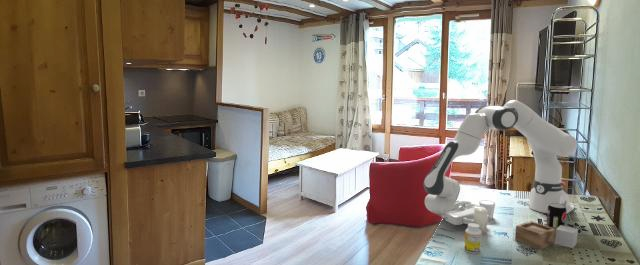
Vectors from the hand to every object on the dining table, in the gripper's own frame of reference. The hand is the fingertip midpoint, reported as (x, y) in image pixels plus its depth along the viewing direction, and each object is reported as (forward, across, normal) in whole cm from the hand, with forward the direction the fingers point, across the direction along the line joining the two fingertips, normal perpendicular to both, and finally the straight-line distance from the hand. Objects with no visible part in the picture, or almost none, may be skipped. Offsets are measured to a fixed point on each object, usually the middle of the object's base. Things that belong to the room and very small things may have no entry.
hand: (482, 220), depth 161 cm
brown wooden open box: (+16, +11, +6) cm, 20 cm away
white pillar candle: (-1, 0, +6) cm, 6 cm away
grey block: (+23, +20, +6) cm, 31 cm away
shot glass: (-12, +19, +6) cm, 23 cm away
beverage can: (+15, +27, +6) cm, 31 cm away
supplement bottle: (+9, -17, +6) cm, 20 cm away
